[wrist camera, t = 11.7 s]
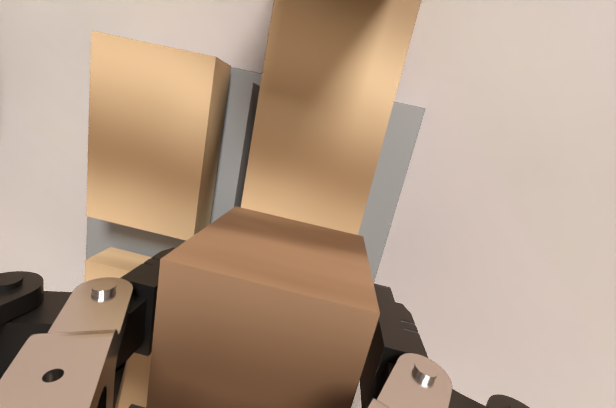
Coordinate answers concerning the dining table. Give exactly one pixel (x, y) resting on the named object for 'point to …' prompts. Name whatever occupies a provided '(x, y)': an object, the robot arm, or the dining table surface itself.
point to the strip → (325, 107)
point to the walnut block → (262, 316)
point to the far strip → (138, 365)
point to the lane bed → (234, 169)
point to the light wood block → (153, 135)
